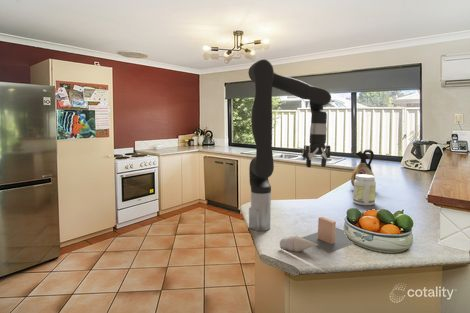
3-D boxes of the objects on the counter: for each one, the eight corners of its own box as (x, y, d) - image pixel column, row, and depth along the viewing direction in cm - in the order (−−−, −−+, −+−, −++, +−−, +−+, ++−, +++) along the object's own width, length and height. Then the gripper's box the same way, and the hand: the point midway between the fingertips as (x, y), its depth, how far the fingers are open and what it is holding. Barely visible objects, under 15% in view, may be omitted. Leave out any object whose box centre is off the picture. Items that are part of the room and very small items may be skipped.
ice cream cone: (319, 256, 107) (281, 254, 115) (321, 241, 111) (284, 240, 119) (315, 248, 104) (276, 246, 111) (317, 233, 108) (279, 232, 115)
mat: (329, 254, 110) (329, 252, 109) (298, 239, 123) (298, 238, 123) (366, 239, 123) (366, 238, 123) (334, 228, 136) (334, 227, 136)
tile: (331, 244, 117) (332, 222, 116) (317, 238, 123) (318, 217, 122) (334, 242, 118) (335, 221, 117) (321, 237, 124) (321, 216, 123)
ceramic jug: (348, 191, 207) (350, 149, 203) (353, 187, 219) (355, 147, 216) (374, 195, 197) (377, 150, 193) (378, 190, 210) (380, 149, 206)
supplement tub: (370, 200, 183) (372, 174, 181) (377, 206, 171) (379, 177, 169) (350, 200, 184) (351, 173, 182) (356, 205, 172) (357, 177, 170)
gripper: (310, 133, 132) (308, 168, 134) (335, 133, 138) (333, 167, 140) (300, 132, 139) (299, 166, 141) (324, 133, 145) (322, 165, 147)
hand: (316, 167), depth 140 cm, fingers open, 8 cm apart
